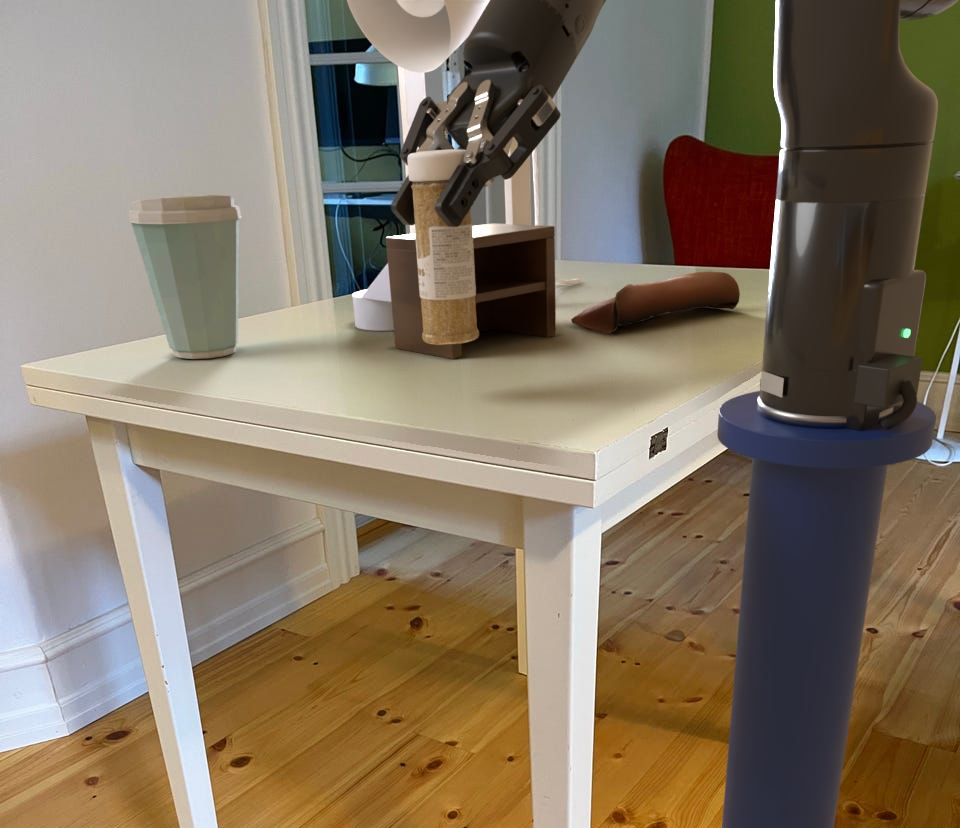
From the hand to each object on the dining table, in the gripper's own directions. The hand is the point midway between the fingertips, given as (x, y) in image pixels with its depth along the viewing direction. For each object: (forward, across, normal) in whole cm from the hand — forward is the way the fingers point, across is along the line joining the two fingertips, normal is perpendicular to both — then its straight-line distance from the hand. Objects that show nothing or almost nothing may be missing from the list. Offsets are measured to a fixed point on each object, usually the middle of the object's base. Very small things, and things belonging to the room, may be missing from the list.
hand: (423, 217), depth 72 cm
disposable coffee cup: (+11, -35, +8) cm, 38 cm away
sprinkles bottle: (+5, 0, +8) cm, 9 cm away
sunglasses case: (-17, -10, +37) cm, 42 cm away
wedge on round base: (-5, -30, +24) cm, 39 cm away
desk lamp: (-17, -36, +36) cm, 54 cm away
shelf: (-4, -16, +23) cm, 28 cm away
